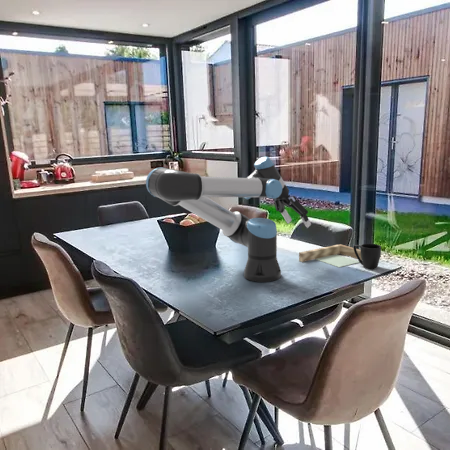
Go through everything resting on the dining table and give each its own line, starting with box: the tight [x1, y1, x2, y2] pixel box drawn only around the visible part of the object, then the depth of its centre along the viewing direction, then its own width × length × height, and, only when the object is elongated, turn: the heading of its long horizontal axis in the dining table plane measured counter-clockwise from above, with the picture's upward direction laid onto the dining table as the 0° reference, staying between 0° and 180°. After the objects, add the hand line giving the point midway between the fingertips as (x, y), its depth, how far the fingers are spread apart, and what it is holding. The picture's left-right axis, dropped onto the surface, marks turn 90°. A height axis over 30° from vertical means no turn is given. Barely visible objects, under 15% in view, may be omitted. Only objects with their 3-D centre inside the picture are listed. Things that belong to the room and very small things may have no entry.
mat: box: [314, 254, 361, 268], centre depth 195 cm, size 13×15×1 cm
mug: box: [352, 243, 382, 270], centre depth 185 cm, size 8×12×10 cm
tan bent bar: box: [298, 243, 361, 263], centre depth 196 cm, size 26×16×4 cm, turn 120°
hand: (299, 223), depth 199 cm, fingers open, 13 cm apart
